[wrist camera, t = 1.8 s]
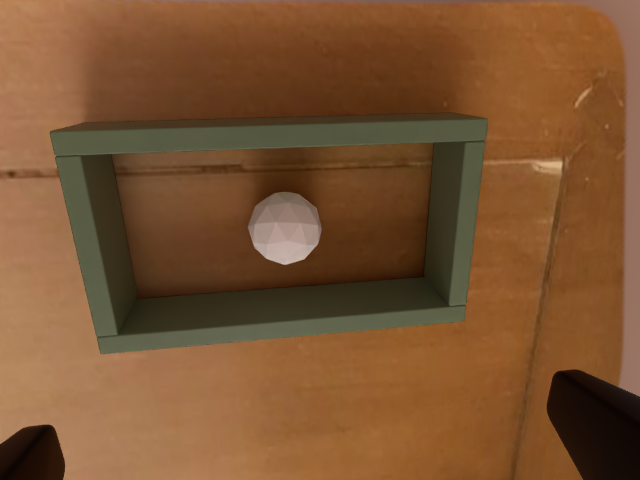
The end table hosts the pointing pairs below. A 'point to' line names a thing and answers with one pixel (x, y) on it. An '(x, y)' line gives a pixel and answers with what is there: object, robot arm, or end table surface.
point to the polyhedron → (285, 227)
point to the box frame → (279, 303)
